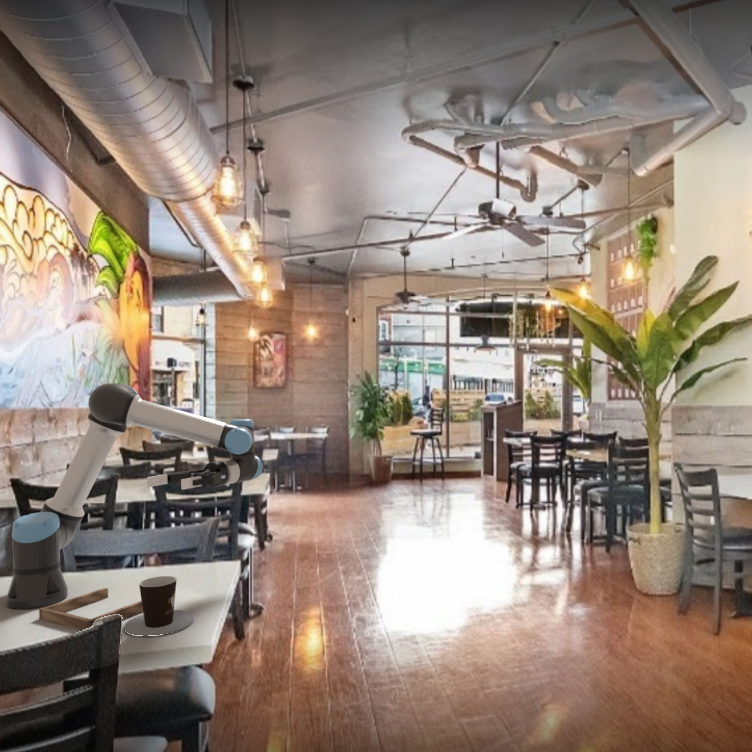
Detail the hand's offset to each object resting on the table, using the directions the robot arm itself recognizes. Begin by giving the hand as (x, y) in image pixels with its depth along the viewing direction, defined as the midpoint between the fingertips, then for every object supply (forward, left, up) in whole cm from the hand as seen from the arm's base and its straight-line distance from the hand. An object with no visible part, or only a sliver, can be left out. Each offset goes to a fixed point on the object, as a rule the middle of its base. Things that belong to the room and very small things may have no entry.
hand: (164, 483), depth 174 cm
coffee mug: (+18, 0, -31) cm, 36 cm away
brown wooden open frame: (+3, -17, -32) cm, 36 cm away
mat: (+18, -1, -32) cm, 37 cm away
